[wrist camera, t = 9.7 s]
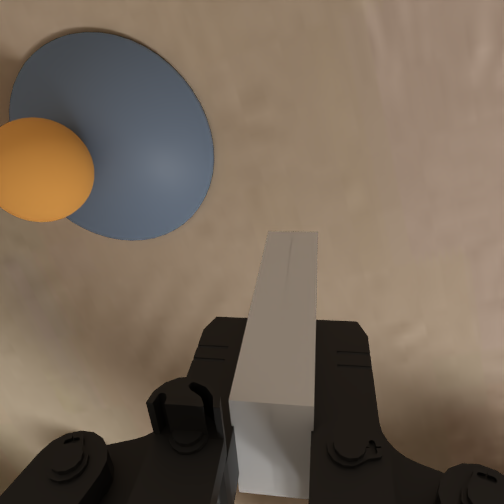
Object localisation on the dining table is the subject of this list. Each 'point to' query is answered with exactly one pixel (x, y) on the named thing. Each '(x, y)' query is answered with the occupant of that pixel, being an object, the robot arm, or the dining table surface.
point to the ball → (43, 170)
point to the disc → (123, 130)
